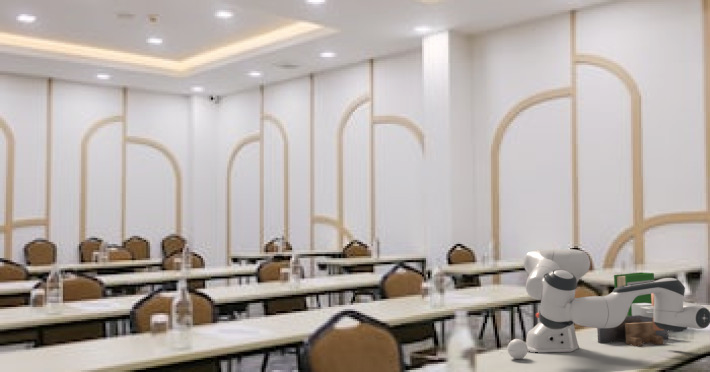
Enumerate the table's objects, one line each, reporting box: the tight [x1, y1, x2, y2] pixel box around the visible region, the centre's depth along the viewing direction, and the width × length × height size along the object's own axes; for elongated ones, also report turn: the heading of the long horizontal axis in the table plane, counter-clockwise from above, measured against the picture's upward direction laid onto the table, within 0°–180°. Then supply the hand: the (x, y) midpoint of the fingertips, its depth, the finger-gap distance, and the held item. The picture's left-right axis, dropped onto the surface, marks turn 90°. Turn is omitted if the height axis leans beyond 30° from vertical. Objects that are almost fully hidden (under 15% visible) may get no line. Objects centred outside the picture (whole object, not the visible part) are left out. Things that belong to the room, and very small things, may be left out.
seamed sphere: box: [501, 338, 529, 360], centre depth 270 cm, size 10×7×7 cm
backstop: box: [596, 315, 669, 344], centre depth 298 cm, size 30×2×10 cm, turn 99°
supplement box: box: [631, 303, 652, 316], centre depth 316 cm, size 7×7×13 cm
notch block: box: [625, 322, 664, 347], centre depth 290 cm, size 12×7×8 cm, turn 99°
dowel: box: [651, 293, 664, 330], centre depth 280 cm, size 4×4×14 cm
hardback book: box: [613, 271, 655, 316], centre depth 333 cm, size 18×7×24 cm, turn 118°
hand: (656, 308), depth 281 cm, fingers closed on dowel, 4 cm apart
